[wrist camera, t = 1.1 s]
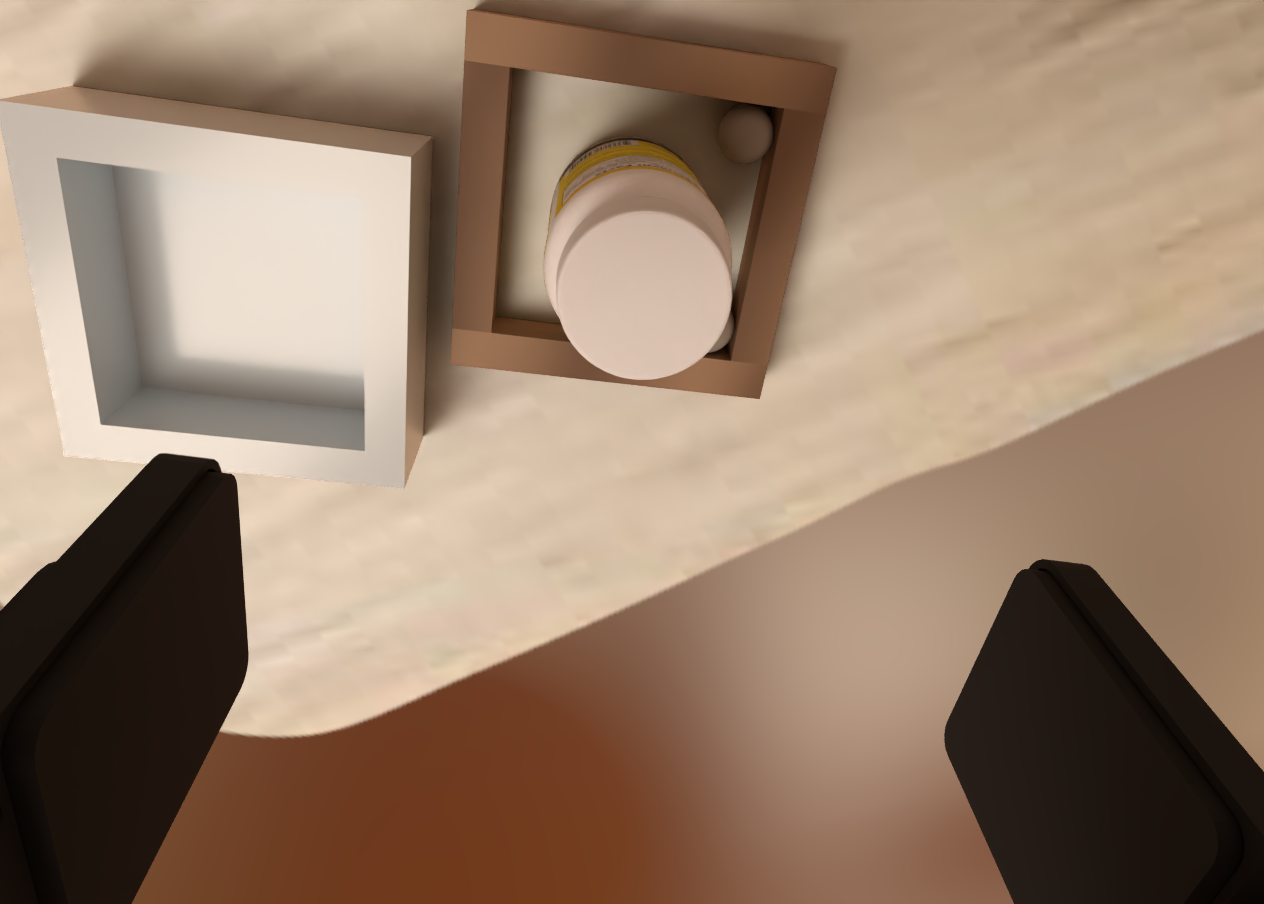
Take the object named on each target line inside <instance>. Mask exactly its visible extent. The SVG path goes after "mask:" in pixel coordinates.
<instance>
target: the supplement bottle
mask: <svg viewBox="0 0 1264 904" xmlns="http://www.w3.org/2000/svg"><path fill="white" fill-rule="evenodd" d="M731 275H732V251H731V245H730V240H729V236H728V233H727V230H726V227H725V224H724V222H723V220H722V218H721V216H720V214H719V213H718V211H717V209H716V208H715V206H714V205H713V203H712V202H711V200H710V199H709V197H708V195H707V194H706V192H705V191H704V189H703V187H702V186H701V184H700V183H699V181H698V180H697V178H696V177H695V175H694V174H693V172H692V171H691V169H690V168H689V167H688V165H687V164H686V163H685V162H684V161H683V160H682V159H681V158H680V157H679V156H678V155H677V154H676V153H674V152H673V151H672V150H670V149H669V148H667V147H665V146H664V145H662V144H660V143H657V142H655V141H652V140H649V139H645V138H639V137H617V138H611V139H608V140H604V141H601V142H599V143H597V144H594V145H592V146H591V147H589V148H587V149H586V150H584V151H583V152H582V153H580V154H579V155H578V156H577V157H576V158H575V159H574V160H573V161H572V162H571V163H570V164H569V165H568V166H567V168H566V169H565V171H564V172H563V174H562V175H561V177H560V179H559V181H558V183H557V185H556V188H555V191H554V195H553V199H552V204H551V210H550V217H549V227H548V235H547V240H546V246H545V252H544V281H545V287H546V291H547V294H548V297H549V299H550V302H551V304H552V306H553V308H554V310H555V312H556V314H557V315H558V317H559V318H560V321H561V324H562V327H563V329H564V331H565V333H566V335H567V337H568V339H569V340H570V342H571V343H572V345H573V346H574V347H575V349H576V350H577V351H578V352H579V353H580V354H581V355H582V356H583V357H584V358H585V359H586V360H588V361H589V362H590V363H592V364H593V365H594V366H596V367H598V368H600V369H602V370H603V371H605V372H607V373H610V374H612V375H615V376H618V377H622V378H627V379H635V380H651V379H658V378H663V377H667V376H670V375H673V374H676V373H679V372H681V371H683V370H685V369H687V368H688V367H690V366H692V365H693V364H695V363H696V362H697V361H699V360H700V359H701V358H702V357H704V356H705V355H706V354H707V353H708V352H709V351H710V350H711V348H712V347H713V346H714V345H715V343H716V342H717V340H718V339H719V337H720V336H721V334H722V332H723V330H724V328H725V326H726V323H727V321H728V318H729V314H730V310H731V304H732V279H731Z"/></svg>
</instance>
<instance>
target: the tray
mask: <svg viewBox="0 0 1264 904" xmlns="http://www.w3.org/2000/svg"><path fill="white" fill-rule="evenodd" d="M513 68H519V69H526V70H532V71H539V72H546V73H552V74H559V75H566V76H572V77H579V78H586V79H592V80H599V81H606V82H612V83H619V84H626V85H632V86H639V87H646V88H652V89H659V90H666V91H672V92H679V93H686V94H692V95H699V96H705V97H712V98H719V99H725V100H732V101H739V102H745V103H752V104H759V105H765V106H772V107H773V109H772V114H771V119H770V118H769V116H768V115H767V113H766V112H765V111H763V110H762V109H761V108H759V107H757V106H754V105H740V106H737V107H735V108H733V109H731V110H730V111H729V112H728V113H727V114H726V115H725V116H724V117H723V119H722V121H721V123H720V125H719V129H718V142H719V145H720V148H721V150H722V152H723V153H724V154H725V155H726V156H727V157H728V158H729V159H730V160H732V161H734V162H737V163H743V164H746V163H752V162H755V161H757V160H759V159H760V158H762V157H763V158H762V163H761V168H760V173H759V177H758V182H757V187H756V192H755V197H754V202H753V207H752V212H751V216H750V221H749V226H748V231H747V236H746V241H745V246H744V250H743V255H742V260H741V265H740V270H739V275H738V280H737V285H736V289H735V294H734V299H733V304H732V309H731V310H730V314H729V318H728V321H727V323H726V326H725V328H724V330H723V332H722V334H721V336H720V337H719V339H718V340H717V342H716V343H715V345H714V346H713V347H712V348H711V350H710V351H709V352H708V353H707V354H706V355H705V356H704V357H702V358H701V359H700V360H699V361H697V362H696V363H695V364H693V365H692V366H690V367H688V368H687V369H685V370H683V371H681V372H679V373H676V374H673V375H670V376H667V377H663V378H658V379H651V380H635V379H627V378H622V377H618V376H615V375H612V374H610V373H607V372H605V371H603V370H602V369H600V368H598V367H596V366H594V365H593V364H592V363H590V362H589V361H588V360H586V359H585V358H584V357H583V356H582V355H581V354H580V353H579V352H578V351H577V350H576V349H575V347H574V346H573V345H572V343H571V342H570V340H569V339H568V337H567V335H566V333H565V331H564V329H563V327H562V324H553V323H545V322H536V321H528V320H519V319H511V318H503V317H496V307H497V293H498V279H499V265H500V251H501V237H502V223H503V209H504V195H505V180H506V166H507V152H508V138H509V124H510V110H511V96H512V82H513ZM836 70H837V68H835V67H832V66H829V65H825V64H821V63H814V62H808V61H802V60H795V59H789V58H783V57H776V56H770V55H763V54H757V53H751V52H744V51H738V50H732V49H725V48H719V47H712V46H706V45H700V44H693V43H687V42H681V41H674V40H668V39H661V38H655V37H649V36H642V35H636V34H630V33H623V32H617V31H610V30H604V29H598V28H591V27H585V26H579V25H572V24H566V23H559V22H553V21H547V20H540V19H534V18H528V17H521V16H515V15H508V14H502V13H496V12H489V11H483V10H477V9H471V10H467V16H466V38H465V60H464V81H463V103H462V125H461V146H460V168H459V190H458V212H457V233H456V255H455V277H454V298H453V320H452V342H451V364H452V365H461V366H470V367H479V368H488V369H497V370H506V371H515V372H524V373H532V374H541V375H550V376H559V377H568V378H577V379H586V380H595V381H604V382H613V383H622V384H631V385H639V386H648V387H657V388H666V389H675V390H684V391H693V392H702V393H711V394H720V395H729V396H738V397H746V398H755V399H760V395H761V391H762V387H763V382H764V378H765V374H766V370H767V365H768V361H769V357H770V352H771V348H772V344H773V340H774V335H775V331H776V327H777V322H778V318H779V314H780V310H781V305H782V301H783V297H784V292H785V288H786V284H787V280H788V275H789V271H790V267H791V262H792V258H793V254H794V250H795V245H796V241H797V237H798V232H799V228H800V224H801V220H802V215H803V211H804V207H805V202H806V198H807V194H808V190H809V185H810V181H811V177H812V172H813V168H814V164H815V160H816V155H817V151H818V147H819V142H820V138H821V134H822V130H823V125H824V121H825V117H826V112H827V108H828V104H829V100H830V95H831V91H832V87H833V82H834V78H835V74H836Z"/></svg>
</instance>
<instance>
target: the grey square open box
mask: <svg viewBox="0 0 1264 904" xmlns="http://www.w3.org/2000/svg"><path fill="white" fill-rule="evenodd" d="M0 125H1V130H2V135H3V140H4V145H5V151H6V156H7V161H8V166H9V171H10V177H11V182H12V187H13V192H14V197H15V203H16V208H17V213H18V218H19V223H20V229H21V234H22V239H23V244H24V249H25V255H26V260H27V265H28V270H29V275H30V281H31V286H32V291H33V296H34V301H35V307H36V312H37V317H38V322H39V327H40V333H41V338H42V343H43V348H44V353H45V359H46V364H47V369H48V374H49V379H50V385H51V390H52V395H53V400H54V405H55V411H56V416H57V421H58V426H59V431H60V437H61V442H62V447H63V452H64V456H68V457H79V458H89V459H99V460H110V461H120V462H131V463H141V464H148V463H149V462H150V461H151V460H152V459H153V458H154V457H155V456H156V455H158V454H159V453H169V454H177V455H185V456H193V457H202V458H210V459H215V460H216V461H217V462H218V463H219V465H220V467H221V471H224V472H235V473H245V474H256V475H266V476H276V477H287V478H297V479H308V480H318V481H328V482H339V483H349V484H360V485H370V486H380V487H391V488H401V489H404V488H405V485H406V483H407V480H408V477H409V474H410V472H411V469H412V466H413V464H414V461H415V458H416V455H417V453H418V450H419V447H420V444H421V442H422V439H423V426H424V394H425V362H426V330H427V298H428V266H429V234H430V202H431V170H432V138H433V137H432V136H425V135H418V134H410V133H403V132H396V131H389V130H382V129H375V128H368V127H361V126H353V125H346V124H339V123H332V122H325V121H318V120H311V119H303V118H296V117H289V116H282V115H275V114H268V113H261V112H254V111H246V110H239V109H232V108H225V107H218V106H211V105H204V104H196V103H189V102H182V101H175V100H168V99H161V98H154V97H147V96H139V95H132V94H125V93H118V92H111V91H104V90H97V89H89V88H82V87H75V86H69V87H63V88H58V89H53V90H47V91H42V92H37V93H31V94H26V95H20V96H15V97H10V98H4V99H0Z"/></svg>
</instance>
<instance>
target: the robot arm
mask: <svg viewBox="0 0 1264 904" xmlns="http://www.w3.org/2000/svg"><path fill="white" fill-rule="evenodd" d="M247 666H248V639H247V624H246V610H245V595H244V580H243V565H242V550H241V535H240V520H239V505H238V490H237V482H236V479H235V477H234V476H233V475H232V474H227V473H222V472H221V467H220V465H219V463H218V462H217V461H216V460H215V459H210V458H202V457H193V456H185V455H177V454H169V453H159V454H158V455H156V456H155V457H154V458H153V459H152V460H151V461H150V462H149V463H148V464H147V465H146V466H145V467H144V468H143V469H142V470H141V472H140V473H139V474H138V475H137V476H136V477H135V478H134V479H133V480H132V481H131V482H130V483H129V484H128V485H127V487H126V488H125V489H124V490H123V491H122V492H121V493H120V494H119V495H118V496H117V497H116V498H115V499H114V500H113V502H112V503H111V504H110V505H109V506H108V507H107V508H106V509H105V510H104V511H103V512H102V513H101V514H100V515H99V516H98V518H97V519H96V520H95V521H94V522H93V523H92V524H91V525H90V526H89V527H88V528H87V529H86V530H85V531H84V533H83V534H82V535H81V536H80V537H79V538H78V539H77V540H76V541H75V542H74V543H73V544H72V545H71V546H70V547H69V549H68V550H67V551H66V552H65V553H64V554H63V555H62V556H61V557H60V558H59V559H58V560H57V561H56V562H52V563H49V564H47V565H46V566H45V567H43V568H42V569H41V570H40V571H38V572H37V573H36V574H35V575H34V576H33V577H32V578H31V579H30V580H29V581H28V583H27V584H26V585H25V586H24V587H23V588H22V589H21V590H20V591H19V592H18V593H17V594H16V595H15V596H14V597H13V598H12V599H11V600H10V601H9V603H8V604H7V605H6V606H5V607H4V608H3V609H2V610H1V611H0V904H132V902H133V900H134V898H135V896H136V894H137V892H138V890H139V888H140V886H141V884H142V882H143V880H144V878H145V876H146V874H147V872H148V870H149V868H150V866H151V864H152V862H153V860H154V858H155V856H156V854H157V853H158V850H159V849H160V847H161V845H162V842H163V841H164V839H165V837H166V835H167V833H168V831H169V829H170V827H171V825H172V823H173V821H174V819H175V817H176V815H177V813H178V811H179V809H180V807H181V805H182V803H183V801H184V799H185V797H186V795H187V793H188V791H189V790H190V788H191V786H192V784H193V782H194V780H195V778H196V776H197V774H198V772H199V770H200V768H201V766H202V764H203V762H204V760H205V758H206V756H207V754H208V752H209V750H210V748H211V746H212V744H213V742H214V740H215V738H216V736H217V734H218V732H219V730H220V728H221V726H222V725H223V723H224V721H225V719H226V717H227V715H228V713H229V711H230V709H231V707H232V705H233V703H234V701H235V699H236V697H237V695H238V693H239V691H240V689H241V687H242V684H243V682H244V679H245V675H246V671H247ZM944 735H945V747H946V751H947V754H948V757H949V759H950V761H951V763H952V766H953V768H954V770H955V772H956V774H957V777H958V779H959V781H960V783H961V786H962V788H963V790H964V792H965V794H966V797H967V799H968V801H969V804H970V806H971V808H972V810H973V812H974V815H975V817H976V819H977V821H978V824H979V826H980V828H981V830H982V833H983V835H984V837H985V840H986V842H987V844H988V846H989V848H990V851H991V853H992V855H993V857H994V859H995V862H996V864H997V866H998V868H999V871H1000V873H1001V875H1002V877H1003V880H1004V882H1005V884H1006V887H1007V889H1008V891H1009V893H1010V895H1011V898H1012V900H1013V902H1014V904H1264V772H1263V770H1262V769H1261V768H1260V767H1259V766H1258V764H1257V763H1256V762H1255V761H1254V760H1253V758H1252V757H1251V756H1250V755H1249V754H1248V753H1247V751H1246V750H1245V749H1244V748H1243V747H1242V745H1241V744H1240V743H1239V742H1238V741H1237V739H1236V738H1235V737H1234V736H1233V735H1232V734H1231V732H1230V731H1229V730H1228V729H1227V727H1226V726H1225V725H1224V724H1223V723H1222V721H1221V720H1220V719H1219V718H1218V717H1217V715H1216V714H1215V713H1214V712H1213V711H1212V709H1211V708H1210V707H1209V706H1208V705H1207V703H1206V702H1205V701H1204V700H1203V699H1202V698H1201V696H1200V695H1199V694H1198V693H1197V692H1196V690H1195V689H1194V688H1193V687H1192V686H1191V684H1190V683H1189V682H1188V681H1187V680H1186V678H1185V677H1184V676H1183V675H1182V674H1181V672H1180V671H1179V670H1178V669H1177V668H1176V666H1175V665H1174V664H1173V663H1172V662H1171V661H1170V659H1169V658H1168V657H1167V656H1166V655H1165V653H1164V652H1163V651H1162V650H1161V649H1160V647H1159V646H1158V645H1157V644H1156V642H1154V640H1153V639H1152V638H1151V636H1150V635H1149V634H1148V633H1147V632H1146V630H1145V629H1144V628H1143V627H1142V626H1141V625H1140V623H1139V622H1138V621H1137V620H1136V619H1135V617H1134V616H1133V615H1132V614H1131V613H1130V611H1129V610H1128V609H1127V608H1126V607H1125V605H1124V604H1123V603H1122V602H1121V601H1120V599H1119V598H1118V597H1117V596H1116V595H1115V593H1114V592H1113V591H1112V590H1111V589H1110V587H1109V586H1108V585H1107V584H1106V583H1105V581H1104V580H1103V579H1102V578H1101V577H1100V575H1099V574H1098V573H1097V572H1096V571H1095V570H1094V569H1093V568H1092V567H1090V566H1088V565H1084V564H1078V563H1070V562H1062V561H1054V560H1045V559H1042V560H1038V561H1036V562H1034V563H1033V564H1032V565H1031V566H1030V568H1029V569H1024V570H1021V571H1020V572H1019V573H1018V574H1017V575H1016V577H1015V578H1014V580H1013V583H1012V585H1011V587H1010V589H1009V591H1008V593H1007V596H1006V597H1005V600H1004V602H1003V604H1002V606H1001V608H1000V610H999V612H998V614H997V617H996V619H995V621H994V623H993V625H992V628H991V629H990V632H989V634H988V636H987V638H986V640H985V642H984V644H983V647H982V649H981V651H980V653H979V655H978V657H977V659H976V661H975V664H974V666H973V668H972V670H971V673H970V674H969V676H968V679H967V681H966V683H965V685H964V687H963V689H962V692H961V694H960V696H959V698H958V700H957V702H956V704H955V707H954V709H953V711H952V713H951V715H950V717H949V719H948V721H947V724H946V727H945V734H944Z"/></svg>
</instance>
